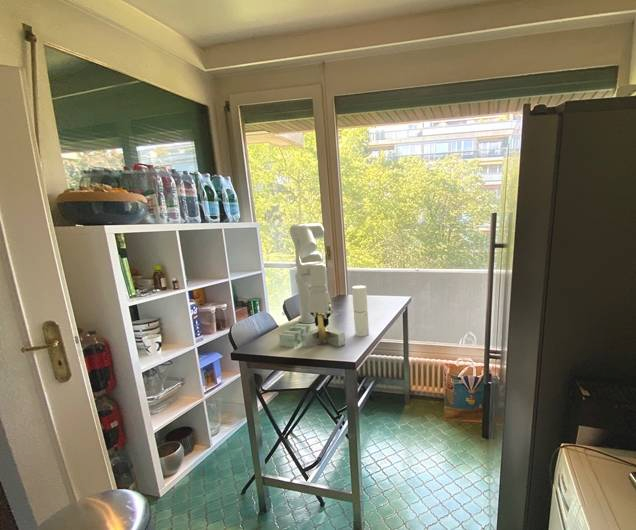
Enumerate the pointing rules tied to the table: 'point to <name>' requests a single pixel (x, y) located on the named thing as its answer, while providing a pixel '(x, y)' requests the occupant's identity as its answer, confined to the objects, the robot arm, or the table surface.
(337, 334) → the v block
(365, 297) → the cylindrical container
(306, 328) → the pale green slotted holder
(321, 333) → the axle
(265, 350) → the table surface
